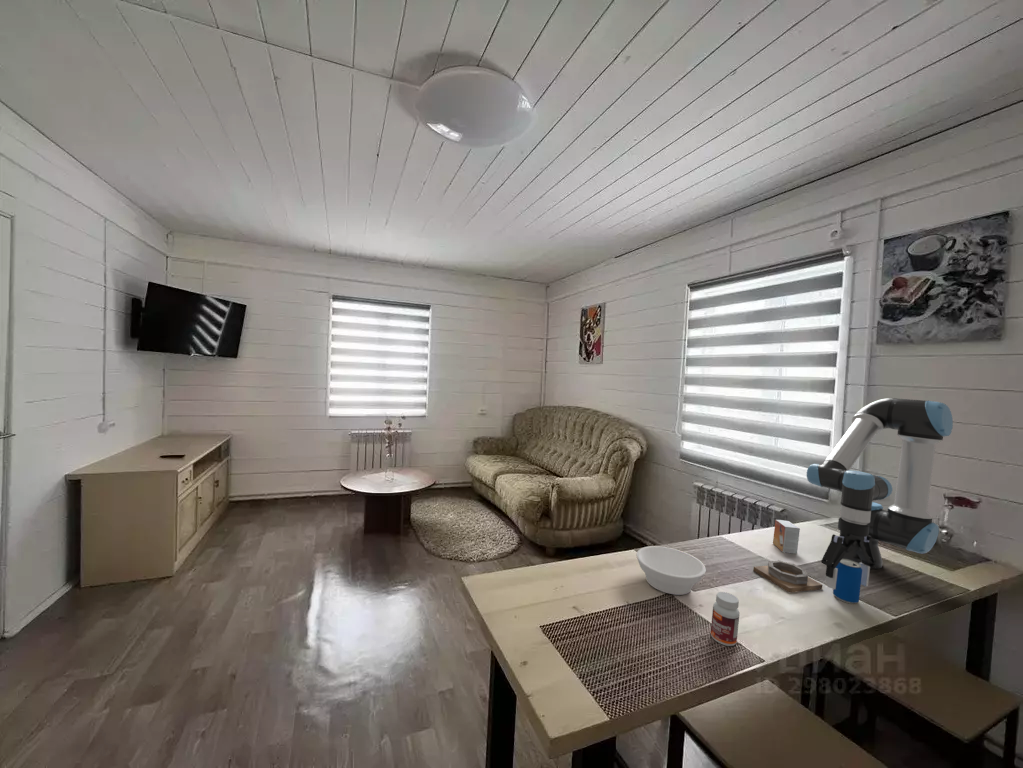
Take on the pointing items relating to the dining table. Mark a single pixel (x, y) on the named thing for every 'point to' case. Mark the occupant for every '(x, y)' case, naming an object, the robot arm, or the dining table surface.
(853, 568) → the beverage can
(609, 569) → the dining table surface
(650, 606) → the dining table surface
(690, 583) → the bowl
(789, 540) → the small box
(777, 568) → the socket
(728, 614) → the pill bottle
